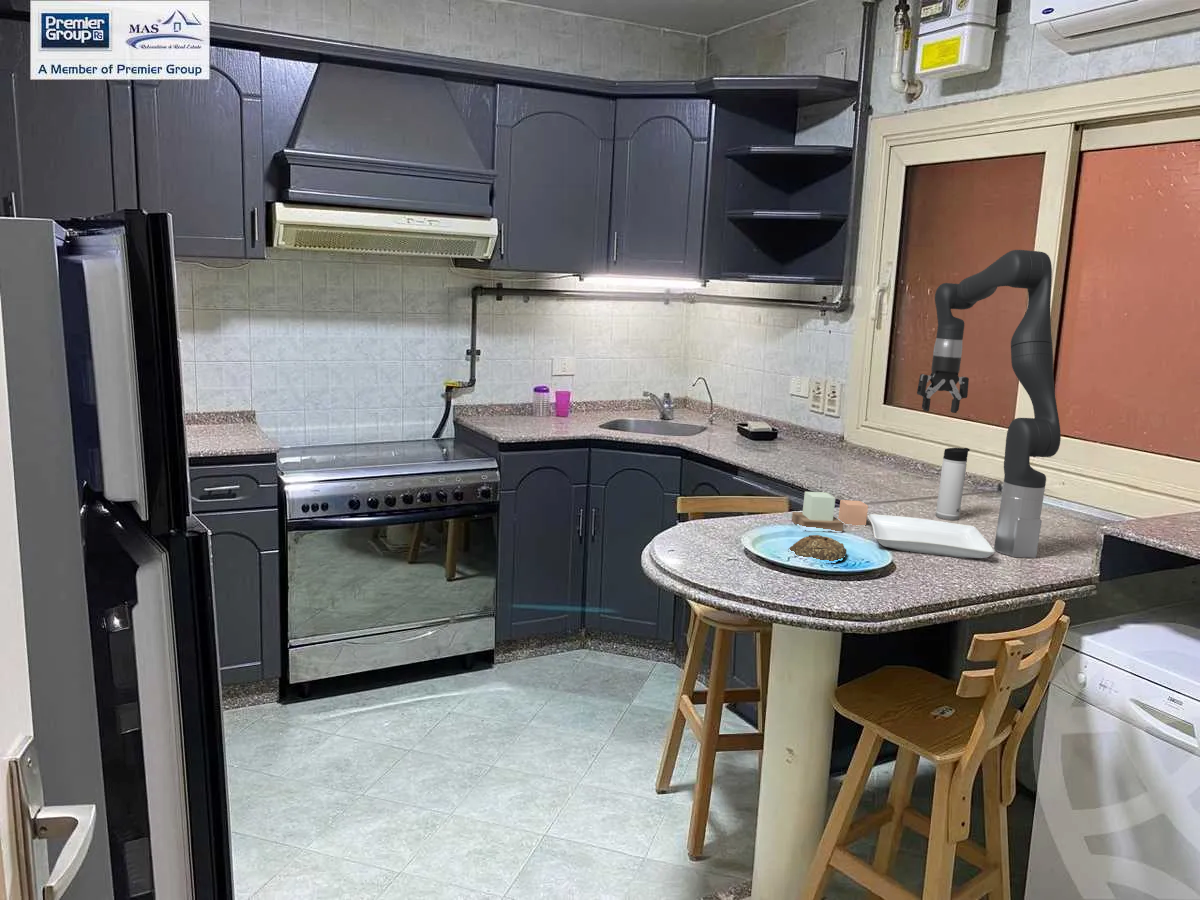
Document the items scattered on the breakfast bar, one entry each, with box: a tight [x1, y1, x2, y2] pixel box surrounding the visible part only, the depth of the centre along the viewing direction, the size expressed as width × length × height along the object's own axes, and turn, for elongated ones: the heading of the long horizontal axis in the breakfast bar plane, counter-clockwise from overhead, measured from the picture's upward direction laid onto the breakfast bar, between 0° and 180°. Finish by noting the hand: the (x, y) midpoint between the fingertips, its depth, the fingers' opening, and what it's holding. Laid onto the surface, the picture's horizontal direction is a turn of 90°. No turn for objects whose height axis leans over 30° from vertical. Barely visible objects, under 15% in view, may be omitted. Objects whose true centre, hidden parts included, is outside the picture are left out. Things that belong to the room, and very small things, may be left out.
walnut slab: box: [791, 511, 844, 532], centre depth 242 cm, size 10×10×2 cm
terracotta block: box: [837, 499, 869, 526], centre depth 249 cm, size 6×6×6 cm
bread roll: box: [788, 534, 847, 561], centre depth 215 cm, size 13×12×5 cm
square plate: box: [867, 513, 996, 559], centre depth 233 cm, size 27×27×4 cm
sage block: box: [802, 491, 836, 521], centre depth 241 cm, size 6×6×6 cm
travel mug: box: [935, 447, 970, 521], centre depth 261 cm, size 6×7×20 cm
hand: (939, 411), depth 268 cm, fingers open, 8 cm apart
